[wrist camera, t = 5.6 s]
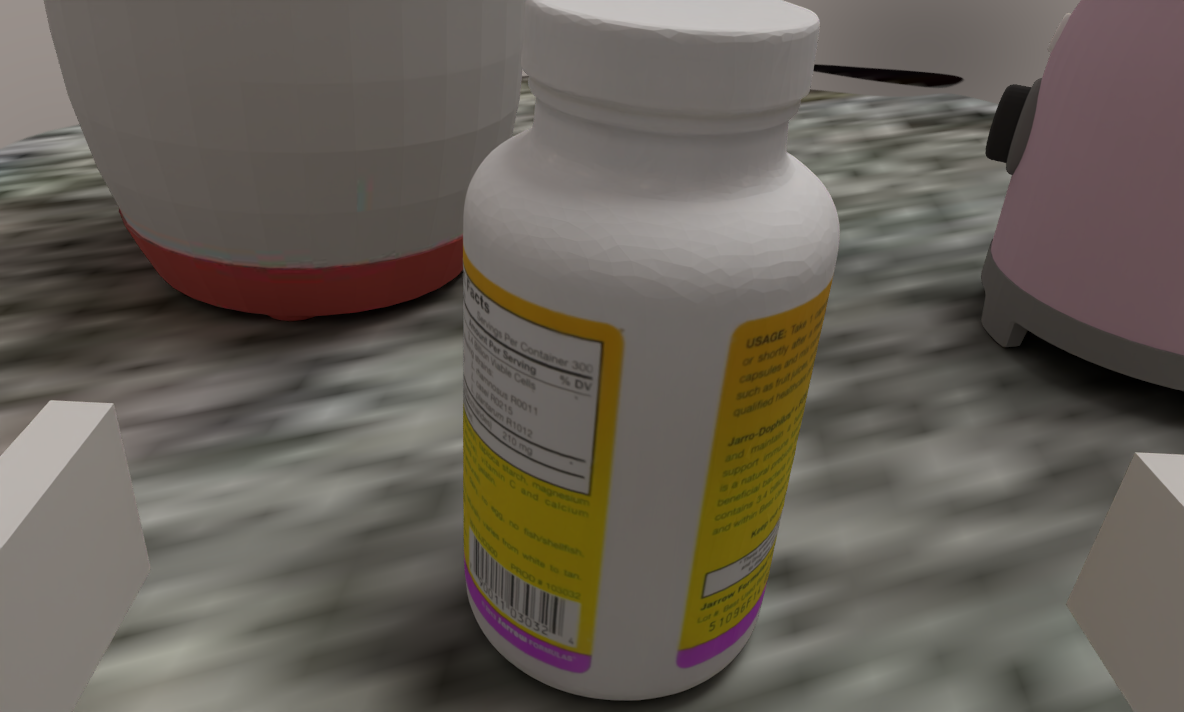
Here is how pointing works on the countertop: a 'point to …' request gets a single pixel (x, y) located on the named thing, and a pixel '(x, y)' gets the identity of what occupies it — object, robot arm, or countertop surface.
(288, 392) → the countertop surface
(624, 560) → the supplement bottle
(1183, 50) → the blender
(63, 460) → the robot arm
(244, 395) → the countertop surface
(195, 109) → the citrus juicer
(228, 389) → the countertop surface
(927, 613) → the countertop surface
